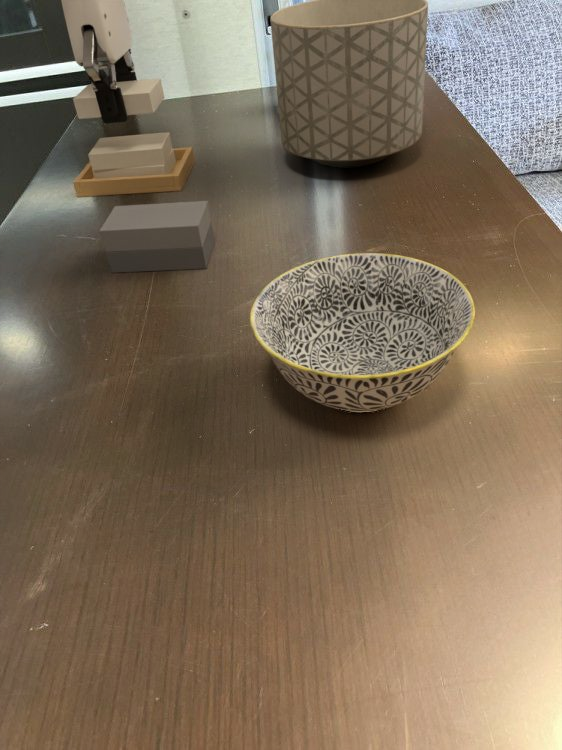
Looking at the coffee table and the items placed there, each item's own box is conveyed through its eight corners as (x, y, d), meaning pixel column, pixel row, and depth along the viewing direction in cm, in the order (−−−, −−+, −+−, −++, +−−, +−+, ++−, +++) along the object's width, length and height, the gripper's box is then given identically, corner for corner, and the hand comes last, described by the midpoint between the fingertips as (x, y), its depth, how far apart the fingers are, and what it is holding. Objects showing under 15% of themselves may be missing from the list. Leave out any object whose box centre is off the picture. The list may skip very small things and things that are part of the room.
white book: (78, 119, 80) (72, 98, 79) (93, 103, 85) (88, 84, 84) (153, 113, 79) (149, 92, 78) (164, 98, 84) (160, 78, 82)
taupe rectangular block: (94, 186, 86) (85, 154, 83) (109, 167, 91) (100, 136, 88) (167, 182, 84) (160, 149, 82) (177, 162, 90) (171, 131, 87)
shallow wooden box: (76, 197, 85) (72, 182, 84) (99, 167, 93) (95, 153, 92) (181, 190, 83) (178, 175, 82) (195, 161, 91) (192, 146, 90)
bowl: (223, 380, 51) (208, 303, 47) (366, 305, 58) (366, 231, 53) (352, 495, 41) (349, 411, 36) (509, 388, 47) (525, 305, 43)
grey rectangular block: (111, 273, 67) (98, 230, 64) (126, 246, 72) (114, 205, 69) (206, 268, 66) (198, 225, 63) (215, 242, 71) (207, 200, 68)
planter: (405, 188, 77) (411, 23, 66) (263, 180, 83) (246, 28, 72) (431, 135, 91) (440, -10, 79) (307, 131, 97) (299, -3, 85)
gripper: (76, -54, 78) (114, 95, 90) (22, -36, 65) (75, 137, 76) (133, -61, 77) (164, 91, 89) (91, -43, 64) (134, 133, 75)
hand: (123, 111), depth 82 cm, fingers closed on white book, 6 cm apart
